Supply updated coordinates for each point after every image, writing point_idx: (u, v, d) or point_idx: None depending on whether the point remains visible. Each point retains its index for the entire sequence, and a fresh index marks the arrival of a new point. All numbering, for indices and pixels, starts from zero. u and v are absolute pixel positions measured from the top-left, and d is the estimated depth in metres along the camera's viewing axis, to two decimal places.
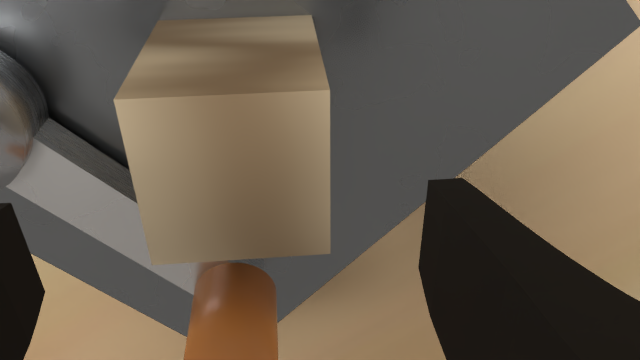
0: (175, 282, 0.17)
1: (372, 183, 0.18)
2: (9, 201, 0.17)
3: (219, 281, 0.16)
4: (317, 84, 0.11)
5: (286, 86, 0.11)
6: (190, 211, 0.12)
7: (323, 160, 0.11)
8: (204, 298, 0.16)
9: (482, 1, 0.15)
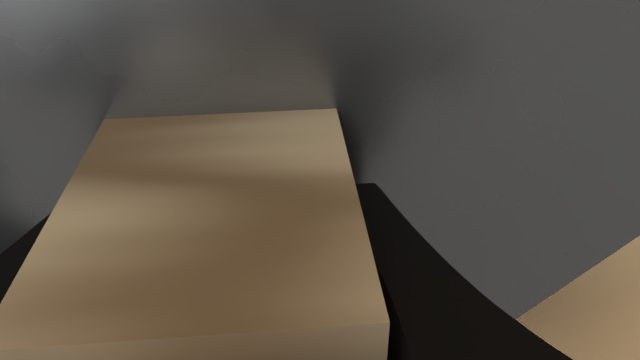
0: None
1: None
2: None
3: None
4: (364, 303, 0.06)
5: (306, 310, 0.06)
6: None
7: None
8: None
9: (592, 86, 0.10)
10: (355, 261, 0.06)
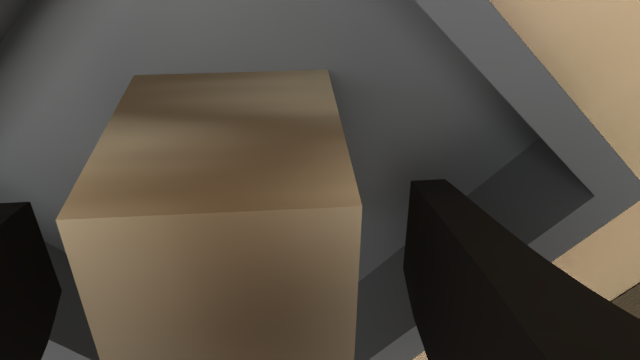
0: None
1: None
2: None
3: None
4: (344, 195, 0.08)
5: (300, 198, 0.08)
6: (166, 351, 0.09)
7: (348, 291, 0.08)
8: None
9: None
10: (338, 170, 0.08)
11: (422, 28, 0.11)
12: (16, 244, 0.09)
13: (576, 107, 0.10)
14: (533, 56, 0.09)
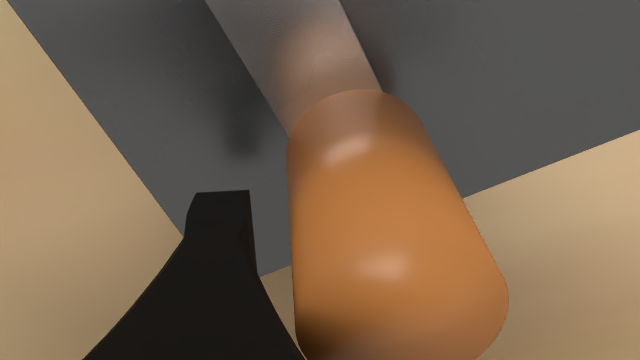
0: (268, 101, 0.09)
1: (586, 73, 0.11)
2: None
3: (372, 108, 0.09)
4: None
5: None
6: None
7: None
8: (345, 126, 0.08)
9: None
10: None
11: None
12: (249, 230, 0.09)
13: None
14: None
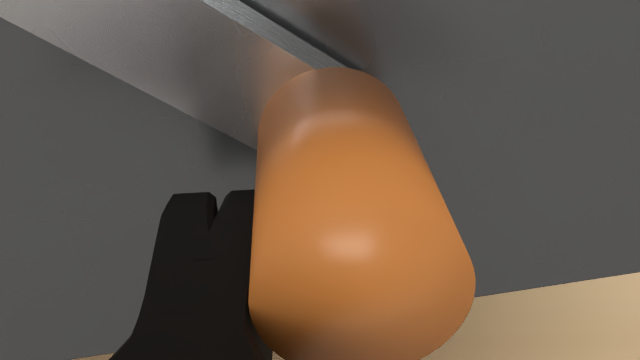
0: (223, 129, 0.10)
1: None
2: None
3: (300, 94, 0.08)
4: None
5: None
6: None
7: None
8: (276, 125, 0.08)
9: (542, 158, 0.12)
10: None
11: None
12: None
13: None
14: None
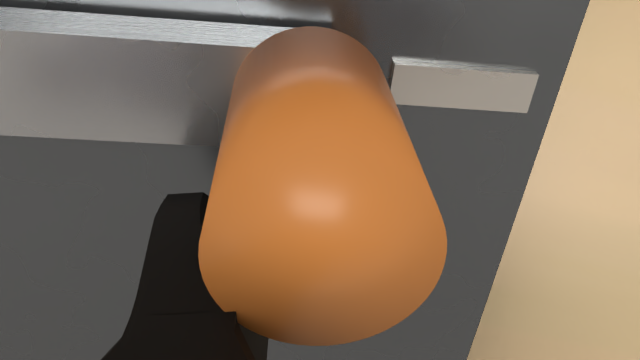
0: (210, 143, 0.10)
1: None
2: None
3: (239, 79, 0.08)
4: None
5: None
6: None
7: None
8: None
9: None
10: None
11: None
12: None
13: None
14: None
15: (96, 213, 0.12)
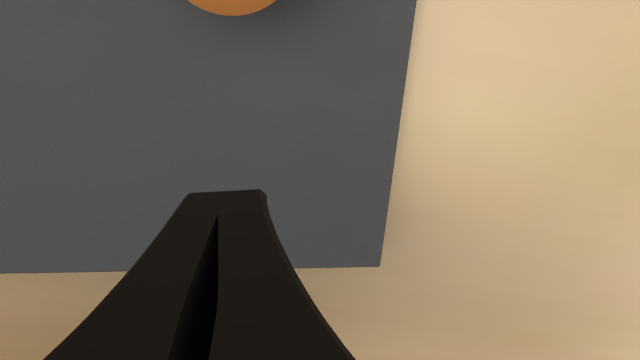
0: None
1: (145, 231, 0.20)
2: None
3: None
4: None
5: None
6: None
7: None
8: None
9: (312, 182, 0.19)
10: None
11: None
12: None
13: None
14: None
15: (97, 50, 0.16)
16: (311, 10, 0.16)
